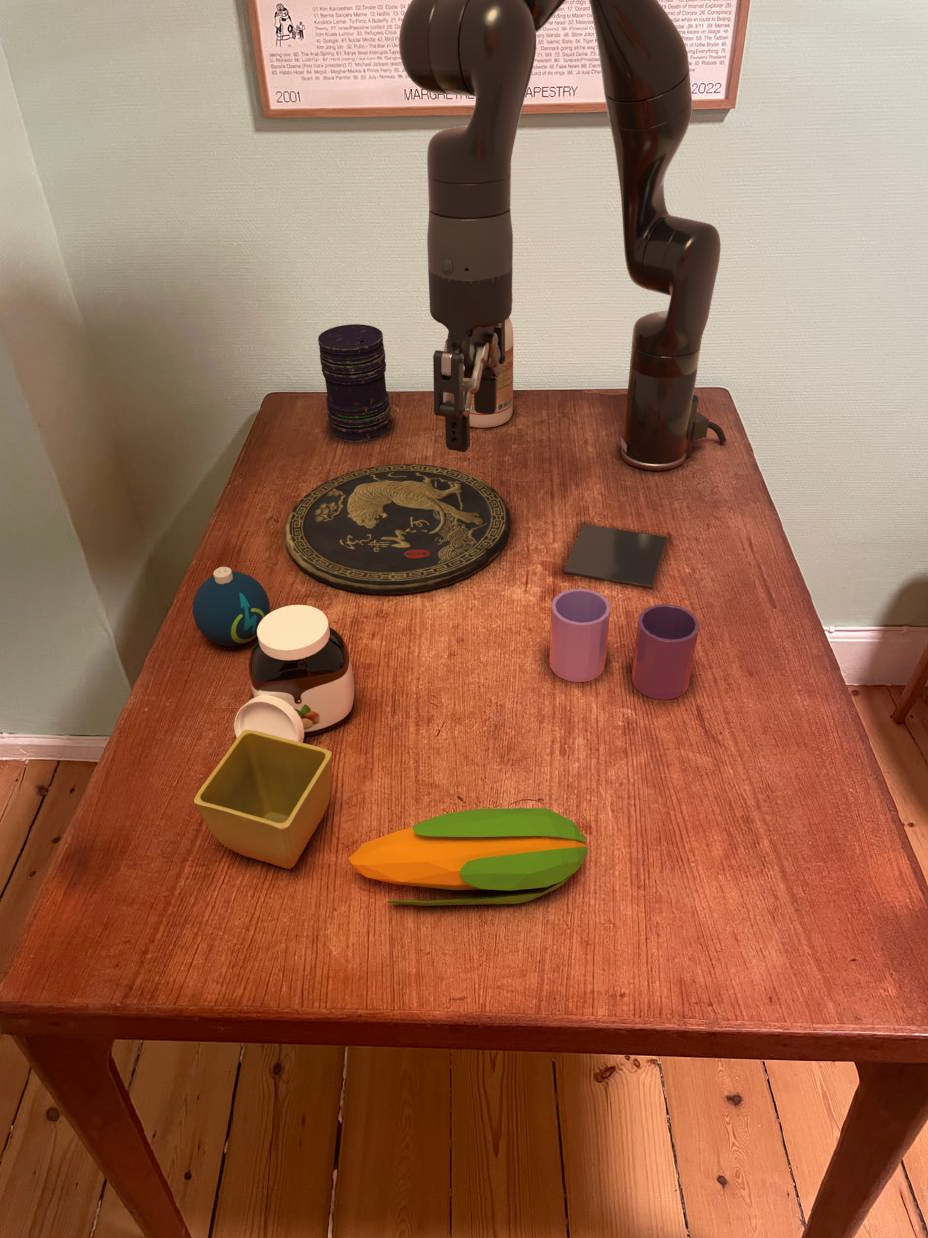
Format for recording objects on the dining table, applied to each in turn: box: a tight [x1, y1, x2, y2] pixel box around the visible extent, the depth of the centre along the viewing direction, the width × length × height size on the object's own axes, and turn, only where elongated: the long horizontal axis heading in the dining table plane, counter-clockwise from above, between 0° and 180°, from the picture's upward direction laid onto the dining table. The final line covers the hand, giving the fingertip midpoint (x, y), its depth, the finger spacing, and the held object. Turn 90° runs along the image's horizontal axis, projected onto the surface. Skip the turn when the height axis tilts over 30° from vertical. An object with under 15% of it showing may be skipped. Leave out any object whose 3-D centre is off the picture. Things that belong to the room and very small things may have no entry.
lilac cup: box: [548, 588, 612, 683], centre depth 95 cm, size 6×6×8 cm
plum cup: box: [631, 603, 700, 701], centre depth 93 cm, size 6×6×8 cm
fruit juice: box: [463, 294, 515, 429], centre depth 136 cm, size 9×9×28 cm
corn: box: [347, 807, 589, 906], centre depth 74 cm, size 7×8×20 cm
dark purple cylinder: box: [317, 323, 392, 443], centre depth 138 cm, size 10×10×15 cm
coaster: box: [563, 523, 668, 590], centre depth 113 cm, size 11×11×1 cm
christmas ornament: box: [192, 566, 271, 647], centre depth 100 cm, size 8×8×10 cm
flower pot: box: [193, 730, 333, 870], centre depth 78 cm, size 9×9×9 cm
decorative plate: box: [284, 463, 511, 595], centre depth 119 cm, size 30×2×30 cm
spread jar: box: [233, 604, 355, 743], centre depth 88 cm, size 12×11×12 cm
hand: (472, 430), depth 89 cm, fingers open, 8 cm apart
